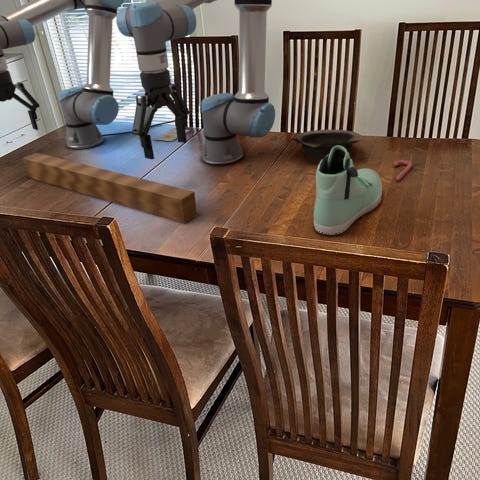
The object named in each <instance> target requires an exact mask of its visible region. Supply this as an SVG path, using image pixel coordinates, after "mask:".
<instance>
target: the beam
mask: <svg viewBox="0 0 480 480" xmlns="http://www.w3.org/2000/svg"><path fill="white" fill-rule="evenodd" d="M22 161H23V163H24V166H25V170H26V173H27V176H28V178H29V179H33V180H36V181H39V182H43V183H46V184H50V185H53V186H57V187H60V188H64V189H67V190H70V191H74V192H77V193H79V194H83V195H87V196H90V197H94V198H97V199H101V200H105V201H107V202H111V203H114V204H118V205H121V206H124V207H128V208H132V209H135V210H138V211H142V212H145V213H148V214H152V215H155V216H159V217H162V218H165V219H168V220H172V221H175V222H179V223H183V224H186V223H188V222H189V221H190V220H192V219H194V217H195V218H196V217H197V216H198V208H197V200H196V194H195V191H193V190H189V189H186V188H182V187H177V186H174V185H169V184H166V183H161V182H158V181H153V180H149V179H145V178H141V177H137V176H133V175H128V174H125V173H121V172H116V171H112V170H109V169H105V168H100V167H96V166H92V165H87V164H84V163H80V162H76V161H72V160H67V159H64V158H61V157H55V156H51V155H47V154H44V153H39V152H34V153H32V154H30V155H26V156H25V157H22Z"/></svg>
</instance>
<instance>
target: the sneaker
mask: <svg viewBox="0 0 480 480" xmlns="http://www.w3.org/2000/svg"><path fill="white" fill-rule="evenodd" d="M317 165H318V166H317V168H316V172H315V201H314V207H313V225H314V229H315V231H316V232H318V233H320V234H323V235H326V236H327V235H328V236H336V235H339V234H342V233H344V232H345V231H347V230H348V229H349V228H350V227H351V226H352V225H353V224H354V222H356V221H357V220H358V219H359V218H360V217H362V216H363V215H365V214H367V213H370V212H372V210H374V209H375V208H377V207H378V205H380V203H381V200H382V196H383V184H382V183H383V182H382V179H381V176H380V175H379V173H378V172H377V171H376V170H374V169H372V168H367V167H365V168H358V169H357V168H355V167H354V161H353V159H352V158H351V155H350V156H349V153H348V152H347V150H346V149H345V148H344V147H342V146H334V147H333V148H332V149H331V152H330V154H329V155H327V156H326V157H325V158H324V159H322V160H321V161H320V163H318V164H317ZM343 230H344V231H343ZM319 231H320V232H319ZM322 232H323V233H322ZM339 232H340V233H339ZM326 233H327V234H326ZM328 233H329V234H328ZM335 233H337V234H335Z"/></svg>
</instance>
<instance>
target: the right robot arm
mask: <svg viewBox="0 0 480 480" xmlns="http://www.w3.org/2000/svg"><path fill="white" fill-rule="evenodd" d="M216 1H217V0H146V1H143V2H136V3H133V4H131V5H130V6H125V7H121V8H120V9H119V10H118V11H117V16H116V17H115V18H116V19H115V20H116V21H115V22H116V27H117V29H118V31H119V33H120V34H122V36H124V37H128V38H132V39H133V41H134V46H135V47H134V48H135V53H136V59H137V66H138V70H139V71H140V73H139V78H140V84H141V87H142V88H143V89H144V95H140V94H139V95H138V94H137V95H136V96H135V104H136V105H135V112H134V118H133V124H132V130H131V131H132V133H131V134H132V135H133V136H137V137H139V142H140V147H141V148H142V151H143V154H144V158H145V159H147V160H148V159H149V160H151V161H153V160H154V159H155V155H154V148H153V142H152V136H151V134H149V132H150V129H151V128H150V126H152V123H153V120H154V117H155V114H156V113H157V112H158V110H160V109H162V108H163V107H167V109H169V111H170V112H171V113H172V115H174V117H176V118H175V119H174V120H175V122H174V123H175V129H176V132H177V138H176V139H177V143H182V144H186V143H188V140H187V132H185V130H187V124H186V120H188V119H189V115H190V110H189V107H188V106H187V104H186V102H185V100H184V98H183V96H182V94H181V92H180V88H179V85H178V84H177V83H172V80H171V72H170V70H169V69H168V68H169V66H170V65H169V60H168V52H167V51H168V50H167V42H169V41H173V40H178V39H182V38H185V37H187V36H190V35H192V34H193V33H194V32H195V30H196V28H197V16H196V14H195V12H194V9H196V8H197V7H199V6H201V5H203V4H211V3H214V2H216ZM272 5H273V0H234V7H235V8H236V9H237V11H238V13H239V14H238V40H239V41H238V91H237V92H236V93H235V94H233V93H231V92H223V93H222V92H221V93H217V94H213V95H210V96H206V97H204V98H203V99H202V100H201V104H200V106H201V111H200V113H201V118H202V126H203V134H204V142H203V147H202V151H201V160H202V162H203V163H204V164H207V165H209V166H217V167H219V166H229V165H232V164H236V163H238V162H240V161H241V160H242V159H243V157H244V153H243V149H242V147H241V143H240V141H239V139H238V137H237V135H238V136H244V137H249V138H259V139H260V138H264V137H266V136H267V135H268V134H269V133H270V132H271V130H272V128H273V126H274V124H275V120H276V109H275V106H274V104H273V103H271V102H270V96H269V95H268V93H266V91H265V89H266V85H265V84H266V83H265V82H266V54H267V53H266V49H267V47H266V46H267V13H268V11H269V10H270V9H271V8H272Z"/></svg>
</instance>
